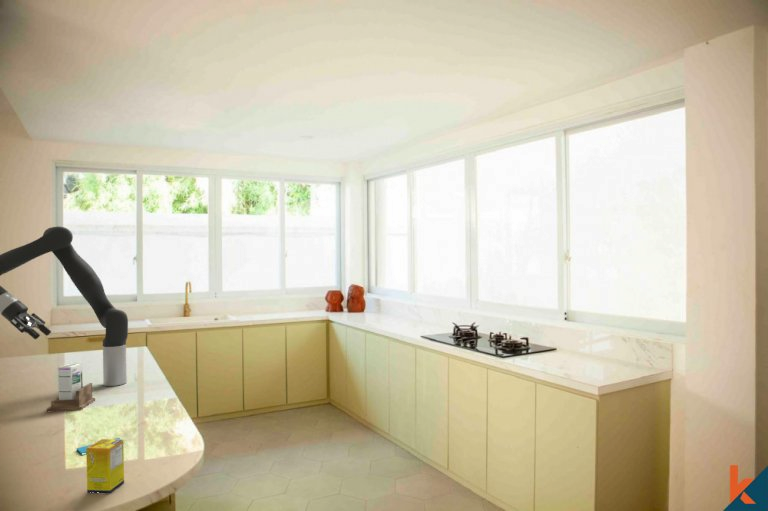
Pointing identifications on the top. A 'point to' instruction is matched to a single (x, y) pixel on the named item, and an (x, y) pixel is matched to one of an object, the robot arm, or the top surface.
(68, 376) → the syrup box
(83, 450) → the sponge
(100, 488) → the supplement box
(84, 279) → the robot arm
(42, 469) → the top surface
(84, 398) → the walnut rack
